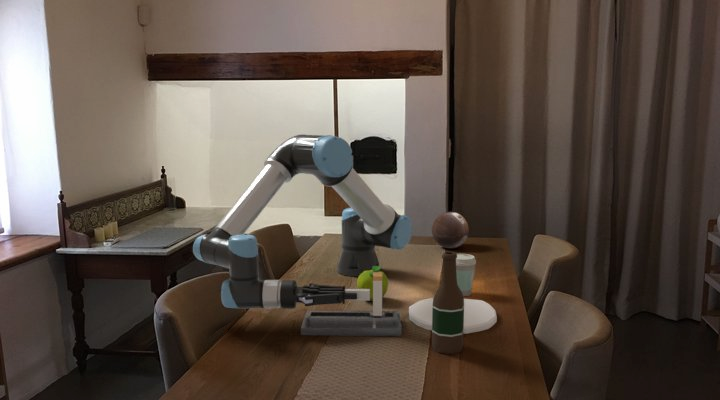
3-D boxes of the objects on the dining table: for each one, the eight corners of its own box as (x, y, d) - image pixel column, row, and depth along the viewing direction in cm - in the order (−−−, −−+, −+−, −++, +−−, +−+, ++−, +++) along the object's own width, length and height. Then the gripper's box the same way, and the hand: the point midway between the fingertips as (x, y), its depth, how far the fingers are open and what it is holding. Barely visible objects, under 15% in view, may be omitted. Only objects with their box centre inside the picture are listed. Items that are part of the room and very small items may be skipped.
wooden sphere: (462, 253, 252) (463, 216, 250) (426, 249, 258) (427, 213, 256) (472, 246, 265) (473, 210, 263) (438, 242, 272) (438, 208, 269)
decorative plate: (420, 287, 194) (503, 296, 185) (420, 300, 194) (502, 309, 186) (396, 313, 171) (489, 324, 162) (396, 328, 171) (489, 339, 163)
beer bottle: (428, 343, 159) (430, 249, 156) (459, 342, 160) (461, 248, 156) (434, 355, 152) (436, 257, 148) (467, 354, 152) (469, 256, 149)
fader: (369, 321, 168) (369, 276, 166) (369, 316, 172) (370, 272, 170) (385, 321, 168) (385, 276, 166) (384, 316, 172) (385, 272, 170)
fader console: (300, 335, 165) (300, 321, 164) (305, 319, 176) (305, 306, 176) (401, 336, 164) (401, 322, 163) (399, 320, 176) (399, 307, 175)
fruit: (391, 296, 197) (391, 265, 195) (382, 305, 188) (382, 273, 187) (363, 293, 200) (363, 262, 198) (353, 302, 191) (353, 270, 190)
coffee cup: (475, 298, 195) (476, 260, 193) (447, 296, 197) (447, 259, 195) (475, 290, 203) (476, 253, 201) (448, 288, 205) (449, 252, 203)
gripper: (284, 300, 176) (369, 300, 176) (277, 316, 163) (369, 316, 163) (284, 273, 175) (369, 274, 174) (277, 287, 162) (369, 288, 162)
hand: (369, 294), depth 169 cm, fingers closed
